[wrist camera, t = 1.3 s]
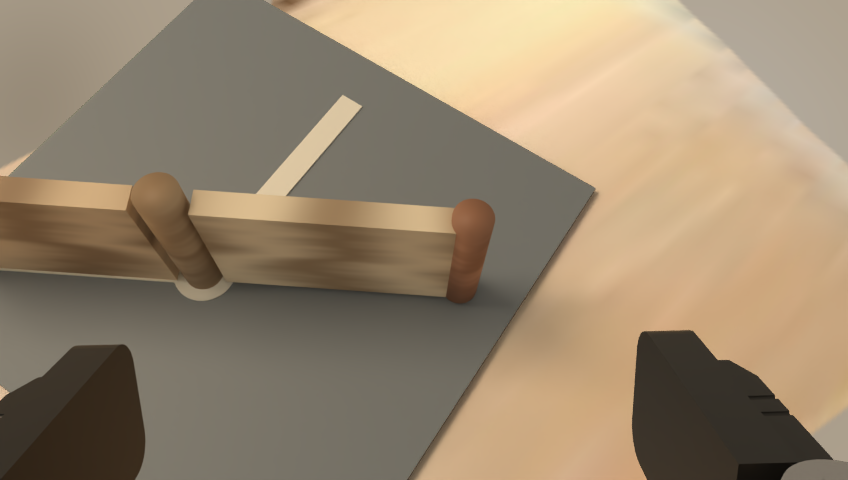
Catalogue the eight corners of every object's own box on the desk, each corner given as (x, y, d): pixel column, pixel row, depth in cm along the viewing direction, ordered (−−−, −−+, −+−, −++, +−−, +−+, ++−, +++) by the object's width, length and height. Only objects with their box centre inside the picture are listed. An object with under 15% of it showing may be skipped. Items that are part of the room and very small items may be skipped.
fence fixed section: (227, 255, 39) (184, 173, 31) (220, 291, 38) (174, 216, 30) (-35, 237, 39) (-145, 150, 31) (-48, 272, 38) (-164, 192, 30)
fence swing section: (225, 287, 38) (183, 216, 30) (231, 254, 38) (192, 178, 31) (476, 304, 38) (494, 238, 30) (477, 271, 38) (495, 200, 31)
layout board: (312, 626, 32) (311, 627, 32) (-112, 296, 38) (-118, 293, 37) (593, 191, 41) (595, 187, 41) (221, -20, 47) (219, -26, 47)
